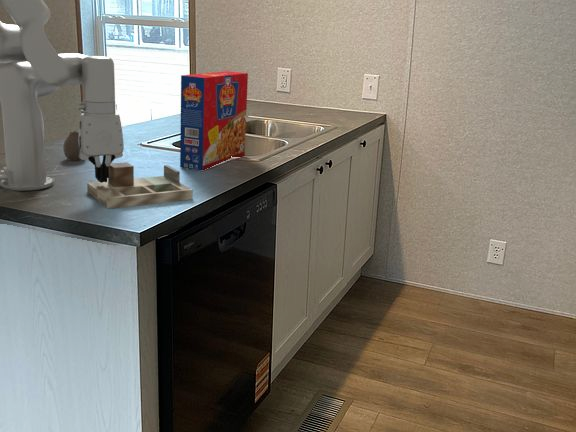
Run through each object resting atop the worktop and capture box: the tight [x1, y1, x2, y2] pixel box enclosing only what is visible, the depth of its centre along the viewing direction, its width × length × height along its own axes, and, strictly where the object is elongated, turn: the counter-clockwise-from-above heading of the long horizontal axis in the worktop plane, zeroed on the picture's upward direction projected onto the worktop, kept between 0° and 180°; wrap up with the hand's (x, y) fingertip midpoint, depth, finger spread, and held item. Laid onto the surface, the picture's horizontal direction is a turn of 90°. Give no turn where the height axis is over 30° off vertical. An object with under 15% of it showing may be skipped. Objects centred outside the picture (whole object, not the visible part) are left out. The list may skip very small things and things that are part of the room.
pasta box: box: [179, 70, 249, 171], centre depth 202 cm, size 28×8×28 cm, turn 157°
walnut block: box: [107, 161, 135, 187], centre depth 162 cm, size 5×5×5 cm
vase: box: [62, 130, 82, 162], centre depth 196 cm, size 7×7×9 cm
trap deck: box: [86, 164, 194, 210], centre depth 162 cm, size 22×16×6 cm
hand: (102, 181), depth 160 cm, fingers closed
